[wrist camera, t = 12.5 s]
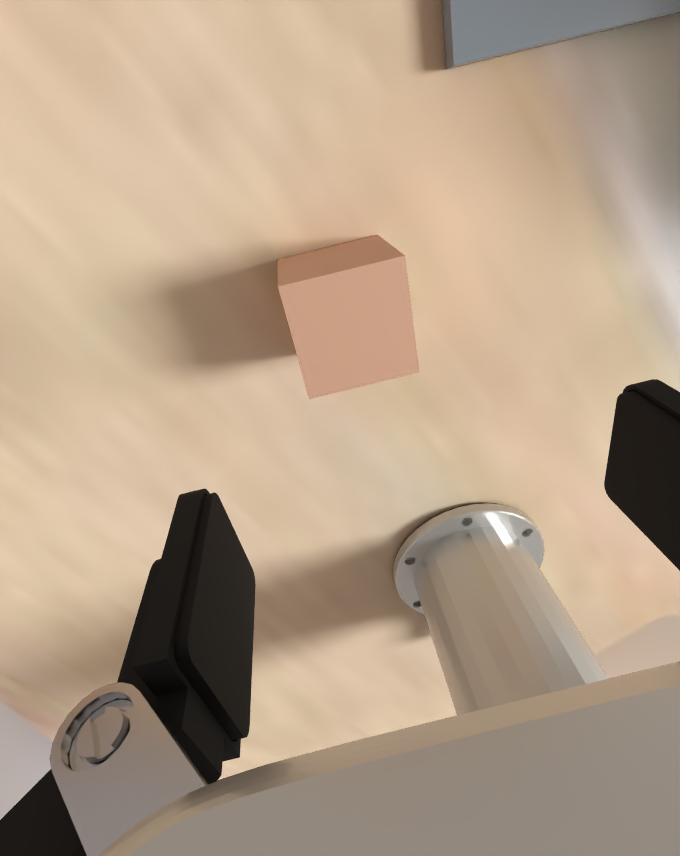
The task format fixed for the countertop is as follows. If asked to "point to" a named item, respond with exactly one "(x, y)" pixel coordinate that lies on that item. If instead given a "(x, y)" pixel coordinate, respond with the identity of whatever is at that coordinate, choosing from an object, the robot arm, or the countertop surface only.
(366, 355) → the salmon pink cube
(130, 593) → the countertop surface
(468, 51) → the baseplate
